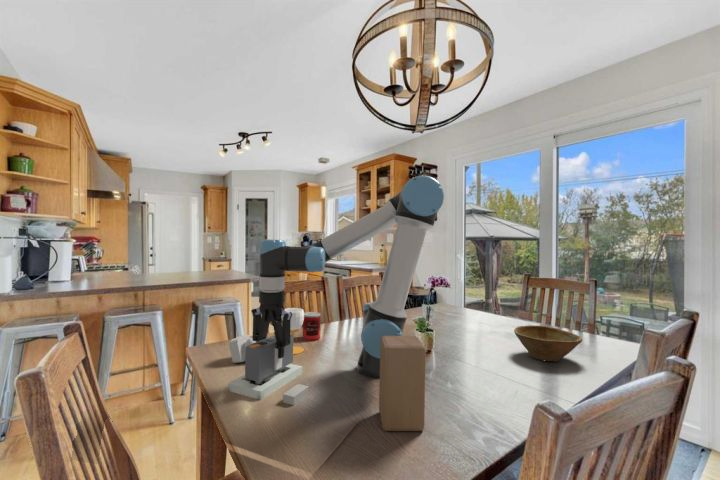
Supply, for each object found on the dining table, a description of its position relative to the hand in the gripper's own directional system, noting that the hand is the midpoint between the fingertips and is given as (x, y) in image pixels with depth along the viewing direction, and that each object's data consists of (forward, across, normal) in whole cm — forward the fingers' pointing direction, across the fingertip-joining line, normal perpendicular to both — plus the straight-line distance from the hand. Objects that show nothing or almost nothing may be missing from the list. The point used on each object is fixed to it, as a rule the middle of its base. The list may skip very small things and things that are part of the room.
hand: (270, 366), depth 103 cm
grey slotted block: (+3, 0, 0) cm, 3 cm away
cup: (+6, +12, -28) cm, 31 cm away
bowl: (+5, -79, -65) cm, 102 cm away
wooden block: (+6, -42, +2) cm, 42 cm away
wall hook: (+6, +19, -12) cm, 23 cm away
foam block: (+6, -13, +5) cm, 15 cm away
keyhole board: (+6, +1, 0) cm, 6 cm away
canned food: (+6, +14, -45) cm, 48 cm away
